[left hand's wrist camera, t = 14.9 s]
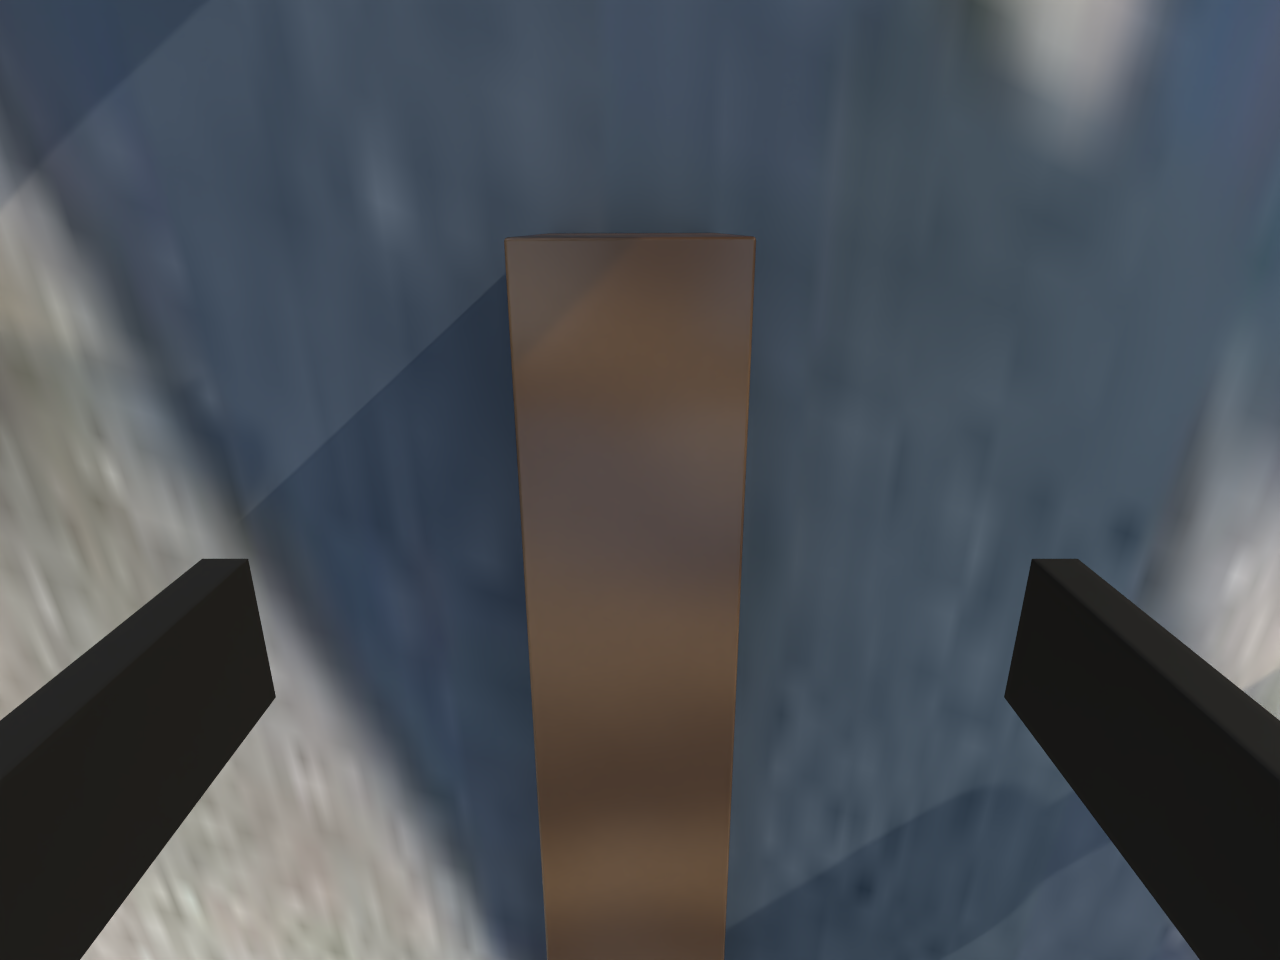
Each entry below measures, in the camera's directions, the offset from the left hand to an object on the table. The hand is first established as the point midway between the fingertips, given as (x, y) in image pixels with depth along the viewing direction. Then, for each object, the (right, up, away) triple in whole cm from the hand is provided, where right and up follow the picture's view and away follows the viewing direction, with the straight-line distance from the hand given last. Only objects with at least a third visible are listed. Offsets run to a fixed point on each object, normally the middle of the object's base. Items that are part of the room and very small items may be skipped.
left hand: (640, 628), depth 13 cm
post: (0, -17, +21) cm, 27 cm away
